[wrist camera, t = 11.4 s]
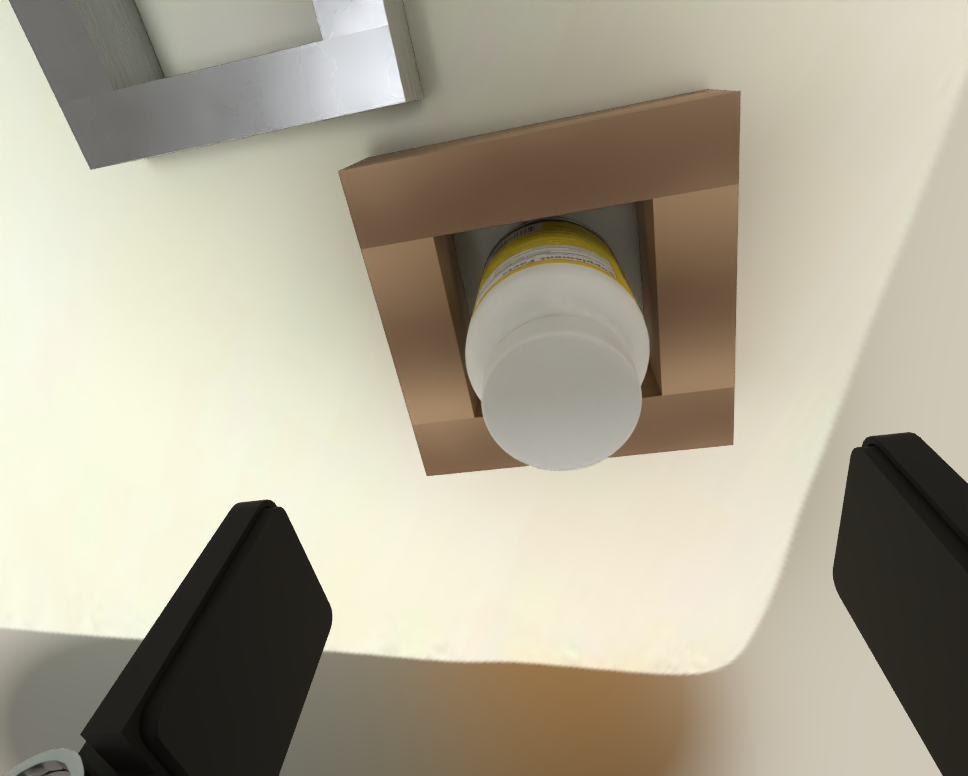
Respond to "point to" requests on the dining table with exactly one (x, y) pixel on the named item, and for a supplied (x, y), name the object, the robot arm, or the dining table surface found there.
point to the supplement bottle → (557, 347)
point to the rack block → (550, 192)
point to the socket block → (211, 77)
